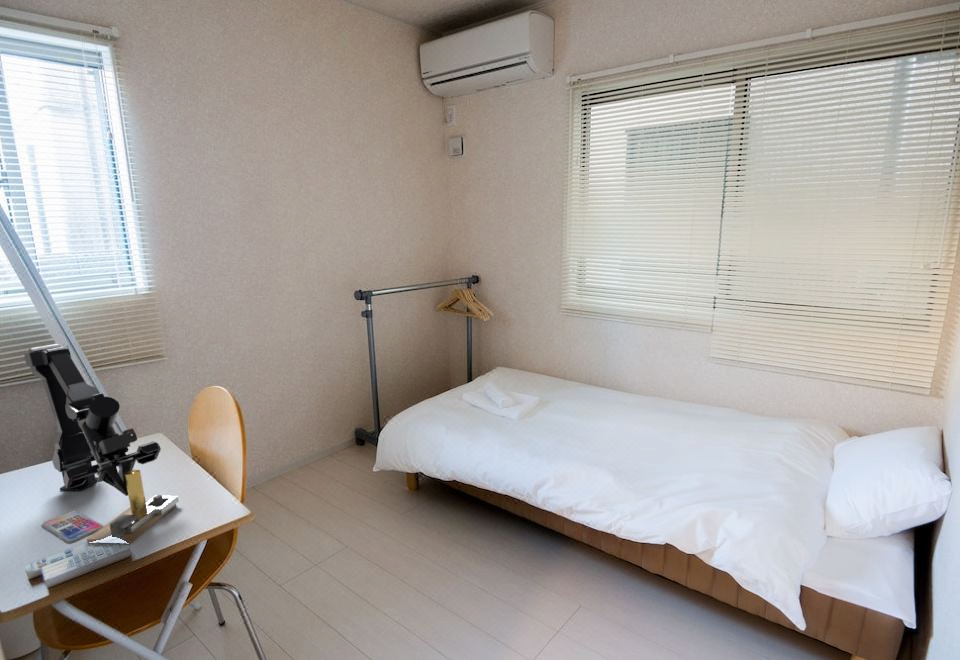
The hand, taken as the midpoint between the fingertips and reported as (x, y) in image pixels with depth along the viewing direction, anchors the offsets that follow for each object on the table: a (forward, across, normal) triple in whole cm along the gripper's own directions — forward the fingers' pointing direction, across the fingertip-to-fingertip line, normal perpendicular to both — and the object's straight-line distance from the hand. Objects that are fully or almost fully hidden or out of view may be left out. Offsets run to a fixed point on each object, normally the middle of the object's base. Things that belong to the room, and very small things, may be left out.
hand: (128, 494), depth 121 cm
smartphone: (-2, -8, +15) cm, 17 cm away
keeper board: (+5, +1, +7) cm, 9 cm away
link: (+5, +3, +5) cm, 8 cm away
